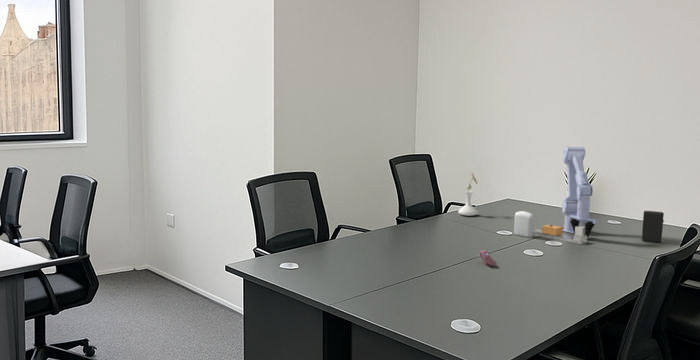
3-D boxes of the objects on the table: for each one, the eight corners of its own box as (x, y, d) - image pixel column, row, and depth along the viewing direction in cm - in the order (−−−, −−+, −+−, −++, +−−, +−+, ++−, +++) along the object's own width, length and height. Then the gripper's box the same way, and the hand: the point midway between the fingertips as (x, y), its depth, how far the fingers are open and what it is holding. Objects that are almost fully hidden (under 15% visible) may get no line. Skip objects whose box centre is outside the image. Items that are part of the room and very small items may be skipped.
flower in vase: (473, 217, 391) (475, 174, 388) (455, 215, 397) (456, 172, 393) (481, 214, 402) (483, 171, 399) (463, 212, 408) (464, 170, 404)
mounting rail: (537, 232, 357) (537, 225, 356) (587, 242, 335) (587, 235, 334) (530, 233, 353) (530, 226, 353) (580, 244, 331) (581, 237, 331)
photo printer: (512, 234, 350) (513, 210, 349) (517, 233, 353) (518, 209, 351) (529, 238, 343) (530, 213, 341) (534, 237, 345) (535, 212, 343)
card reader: (661, 241, 339) (664, 211, 337) (661, 243, 335) (664, 213, 333) (641, 239, 343) (644, 210, 340) (641, 241, 339) (643, 211, 337)
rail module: (581, 236, 347) (581, 225, 347) (588, 238, 344) (589, 226, 343) (574, 238, 344) (575, 226, 343) (581, 240, 341) (582, 228, 340)
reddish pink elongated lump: (481, 264, 299) (475, 250, 298) (491, 259, 299) (484, 245, 298) (488, 270, 289) (481, 256, 288) (497, 265, 289) (491, 251, 288)
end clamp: (548, 231, 351) (549, 223, 351) (562, 233, 345) (563, 225, 345) (541, 232, 347) (542, 224, 347) (555, 235, 341) (556, 227, 341)
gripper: (565, 207, 345) (564, 233, 347) (592, 211, 334) (590, 239, 336) (573, 205, 349) (572, 232, 351) (600, 210, 338) (598, 237, 340)
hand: (581, 235), depth 344 cm, fingers open, 6 cm apart
